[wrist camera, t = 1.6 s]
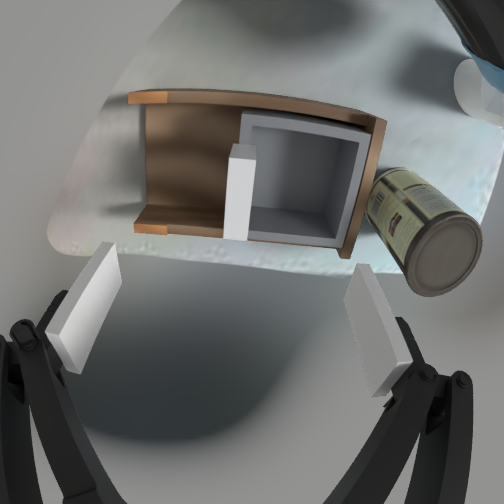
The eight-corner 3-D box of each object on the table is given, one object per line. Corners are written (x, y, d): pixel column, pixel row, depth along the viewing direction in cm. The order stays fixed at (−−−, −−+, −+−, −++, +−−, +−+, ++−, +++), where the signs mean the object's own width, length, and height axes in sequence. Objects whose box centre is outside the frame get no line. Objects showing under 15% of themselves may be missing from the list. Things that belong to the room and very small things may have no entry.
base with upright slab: (468, 46, 23) (528, 51, 13) (501, 88, 25) (557, 106, 15) (444, 89, 28) (504, 105, 18) (479, 130, 30) (535, 157, 20)
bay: (149, 89, 29) (122, 94, 22) (360, 110, 30) (387, 121, 24) (150, 208, 38) (129, 239, 31) (334, 225, 39) (349, 259, 33)
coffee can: (425, 226, 39) (473, 285, 27) (365, 239, 40) (402, 306, 29) (427, 162, 34) (490, 208, 22) (361, 172, 35) (410, 224, 23)
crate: (239, 106, 29) (232, 121, 19) (349, 122, 30) (393, 148, 20) (230, 208, 36) (221, 265, 26) (328, 218, 37) (354, 276, 27)
